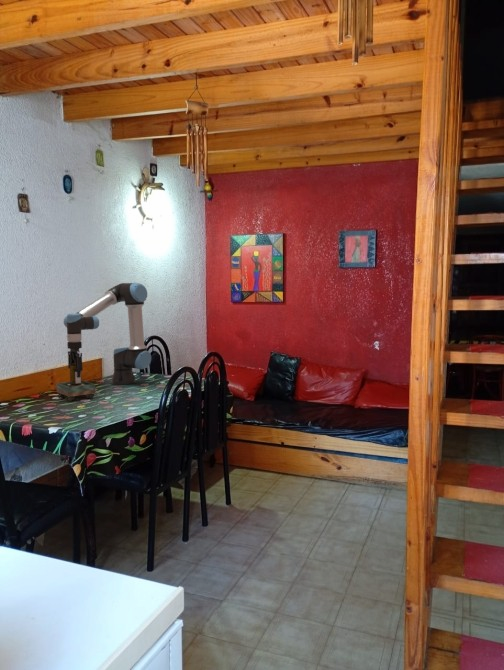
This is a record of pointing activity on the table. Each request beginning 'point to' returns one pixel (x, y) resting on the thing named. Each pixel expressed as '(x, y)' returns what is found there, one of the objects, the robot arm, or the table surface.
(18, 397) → the table surface
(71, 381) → the condiment
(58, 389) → the shallow square tray
